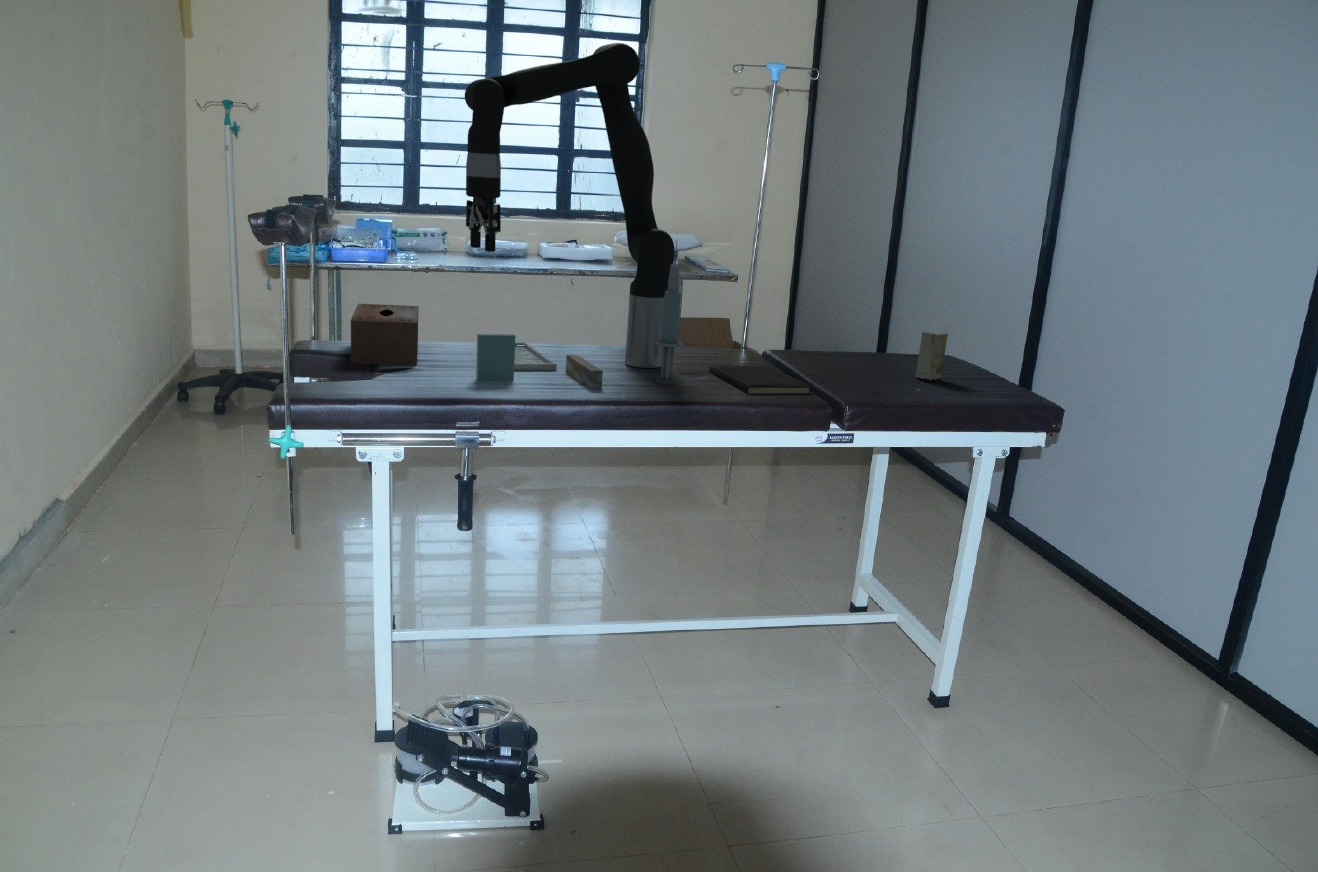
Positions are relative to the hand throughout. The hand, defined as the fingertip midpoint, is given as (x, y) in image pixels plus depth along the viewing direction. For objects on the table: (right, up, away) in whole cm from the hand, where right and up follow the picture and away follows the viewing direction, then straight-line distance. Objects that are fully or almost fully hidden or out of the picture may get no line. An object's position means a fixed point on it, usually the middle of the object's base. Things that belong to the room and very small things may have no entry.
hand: (482, 249), depth 228 cm
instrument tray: (+5, -23, +20) cm, 31 cm away
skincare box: (+109, -27, +34) cm, 117 cm away
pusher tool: (+22, -29, +2) cm, 37 cm away
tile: (+4, -29, -5) cm, 30 cm away
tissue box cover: (-25, -22, +15) cm, 37 cm away
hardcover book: (+63, -30, +14) cm, 71 cm away
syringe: (+41, -30, +6) cm, 51 cm away
